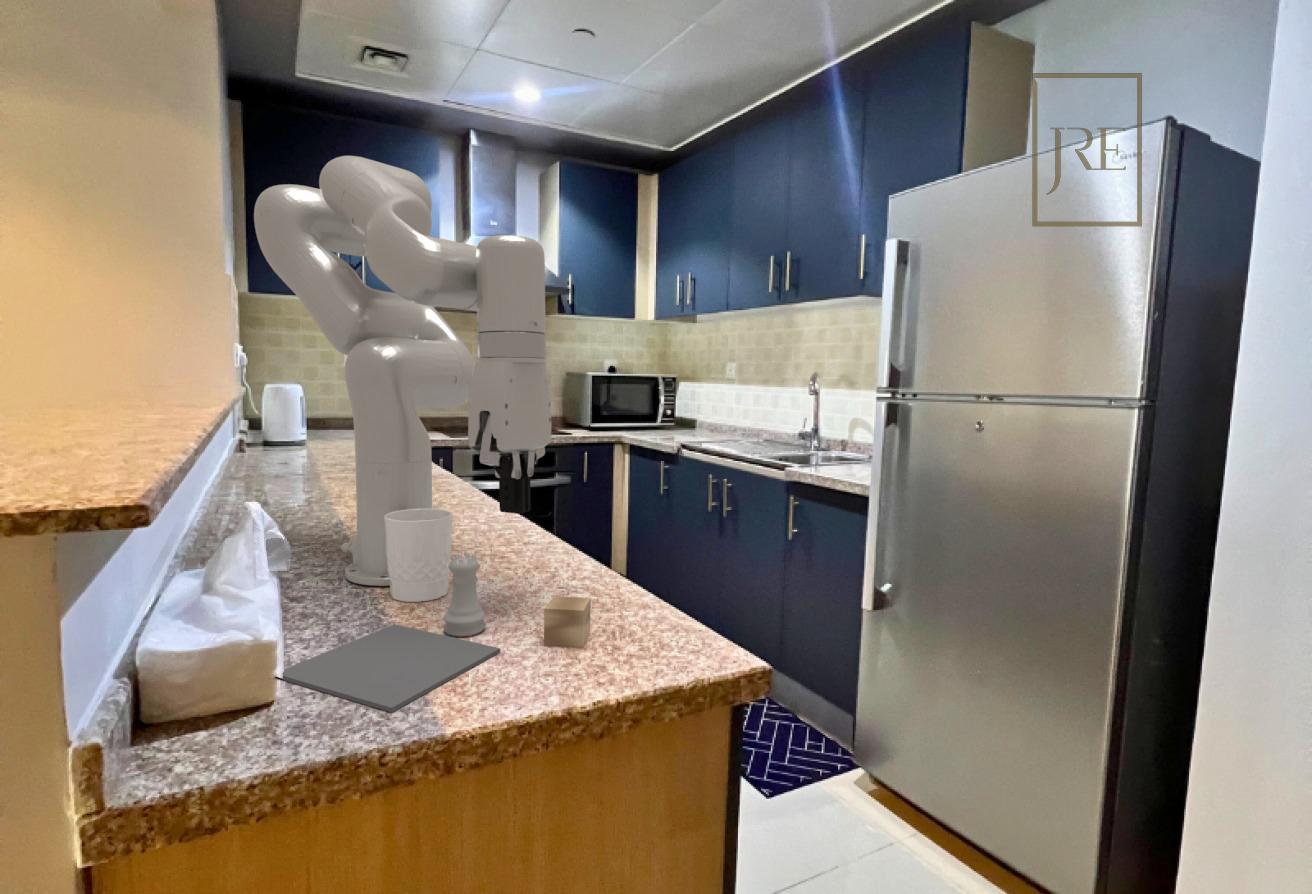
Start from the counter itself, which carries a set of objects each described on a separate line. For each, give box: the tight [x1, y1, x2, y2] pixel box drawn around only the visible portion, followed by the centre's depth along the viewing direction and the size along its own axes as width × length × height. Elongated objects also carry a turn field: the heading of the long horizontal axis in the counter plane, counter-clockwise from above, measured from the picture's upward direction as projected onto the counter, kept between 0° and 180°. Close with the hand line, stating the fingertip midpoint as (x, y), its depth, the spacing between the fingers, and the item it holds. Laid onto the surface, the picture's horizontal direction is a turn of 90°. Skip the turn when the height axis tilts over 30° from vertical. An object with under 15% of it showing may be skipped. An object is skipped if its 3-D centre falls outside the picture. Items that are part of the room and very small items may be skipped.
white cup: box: [384, 508, 453, 603], centre depth 86 cm, size 8×8×10 cm
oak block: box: [543, 595, 592, 649], centre depth 72 cm, size 4×4×4 cm
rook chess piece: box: [442, 553, 487, 637], centre depth 74 cm, size 4×4×8 cm
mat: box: [282, 623, 501, 713], centre depth 65 cm, size 14×14×1 cm
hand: (515, 511), depth 80 cm, fingers closed
